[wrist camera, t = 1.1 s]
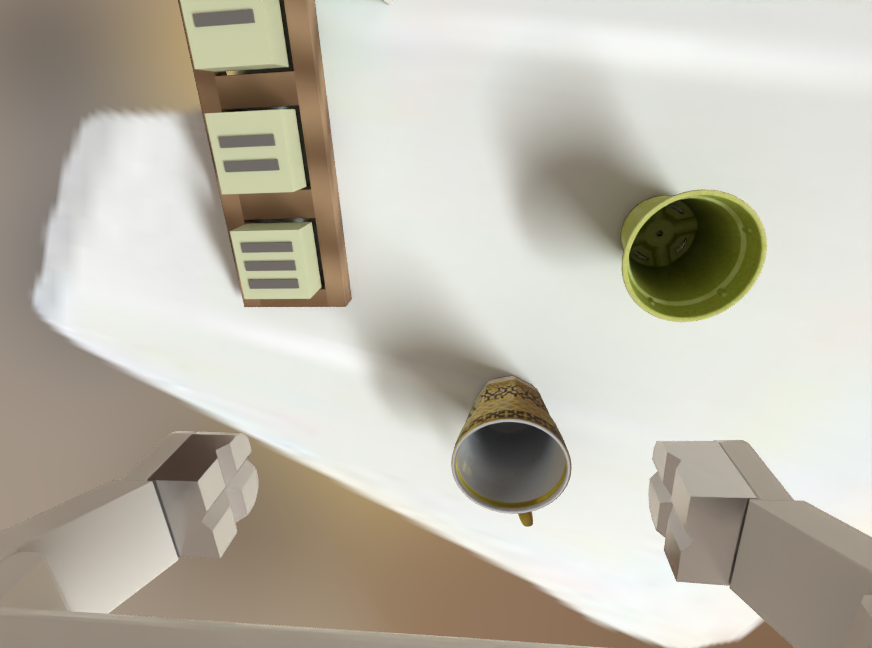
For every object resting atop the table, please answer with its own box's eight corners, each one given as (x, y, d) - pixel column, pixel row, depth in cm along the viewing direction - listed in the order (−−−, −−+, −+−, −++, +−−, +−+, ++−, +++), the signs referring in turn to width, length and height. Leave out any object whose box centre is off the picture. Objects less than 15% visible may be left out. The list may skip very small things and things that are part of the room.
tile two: (224, 113, 40) (203, 113, 37) (295, 109, 39) (279, 109, 37) (239, 188, 43) (220, 194, 40) (306, 186, 42) (292, 192, 39)
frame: (183, -41, 38) (167, -49, 36) (307, -54, 37) (297, -62, 35) (253, 299, 49) (244, 306, 47) (351, 299, 48) (345, 306, 46)
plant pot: (578, 253, 44) (596, 286, 36) (643, 153, 40) (678, 164, 32) (668, 301, 45) (705, 343, 37) (740, 207, 41) (799, 231, 33)
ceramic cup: (448, 371, 50) (437, 430, 41) (547, 351, 48) (559, 409, 39) (480, 472, 55) (476, 545, 46) (571, 458, 52) (587, 532, 43)
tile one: (197, -19, 37) (172, -30, 34) (275, -26, 36) (255, -38, 33) (216, 71, 39) (193, 69, 36) (288, 66, 38) (271, 63, 35)
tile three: (246, 223, 44) (228, 231, 41) (311, 221, 43) (298, 230, 40) (259, 287, 46) (243, 299, 43) (321, 287, 45) (309, 299, 43)
